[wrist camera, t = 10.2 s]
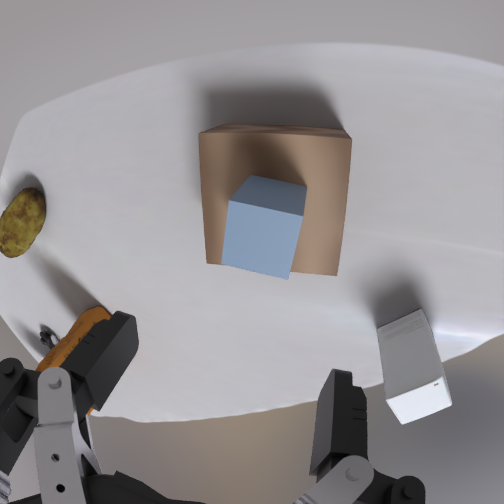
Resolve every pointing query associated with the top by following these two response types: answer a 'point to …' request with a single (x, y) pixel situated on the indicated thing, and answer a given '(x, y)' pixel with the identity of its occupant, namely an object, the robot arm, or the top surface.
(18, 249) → the potato
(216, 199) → the walnut box
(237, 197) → the slate block
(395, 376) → the supplement box
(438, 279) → the top surface
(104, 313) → the coffee package
